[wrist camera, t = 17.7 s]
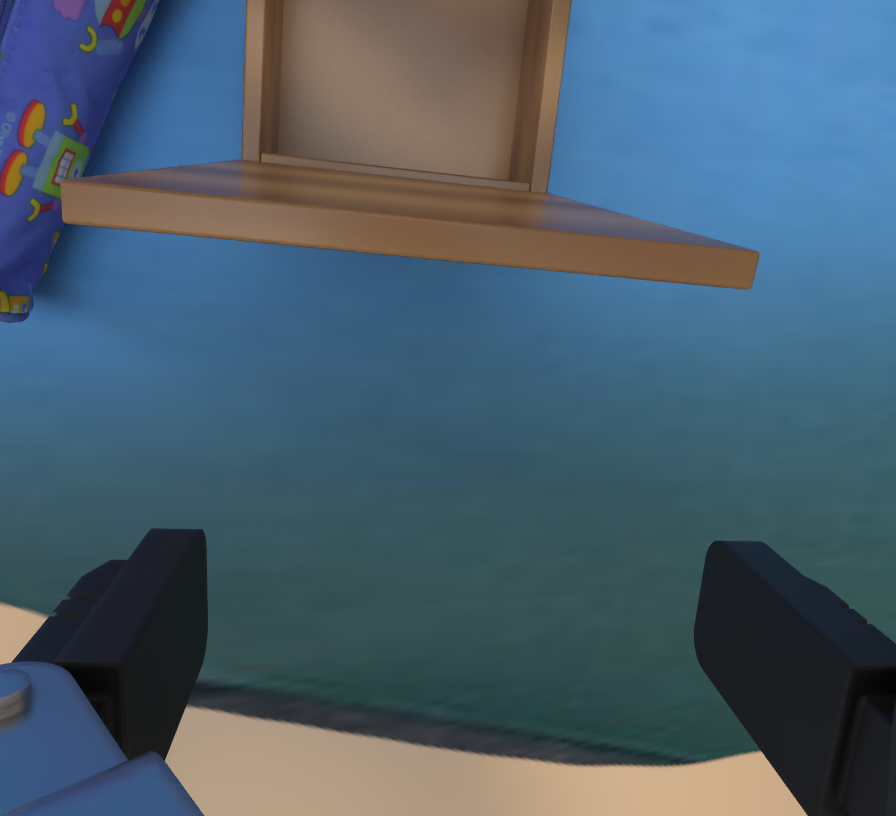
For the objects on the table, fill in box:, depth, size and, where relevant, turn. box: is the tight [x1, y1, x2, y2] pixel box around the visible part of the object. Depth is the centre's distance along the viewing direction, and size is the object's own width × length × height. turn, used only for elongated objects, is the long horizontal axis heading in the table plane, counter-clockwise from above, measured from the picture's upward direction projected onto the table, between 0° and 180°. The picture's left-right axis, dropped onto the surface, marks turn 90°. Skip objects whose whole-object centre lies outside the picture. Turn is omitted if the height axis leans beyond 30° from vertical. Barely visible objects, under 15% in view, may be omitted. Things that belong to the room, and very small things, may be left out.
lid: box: [60, 160, 759, 290], centre depth 23 cm, size 19×14×1 cm
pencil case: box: [0, 0, 159, 323], centre depth 32 cm, size 22×9×10 cm, turn 153°
